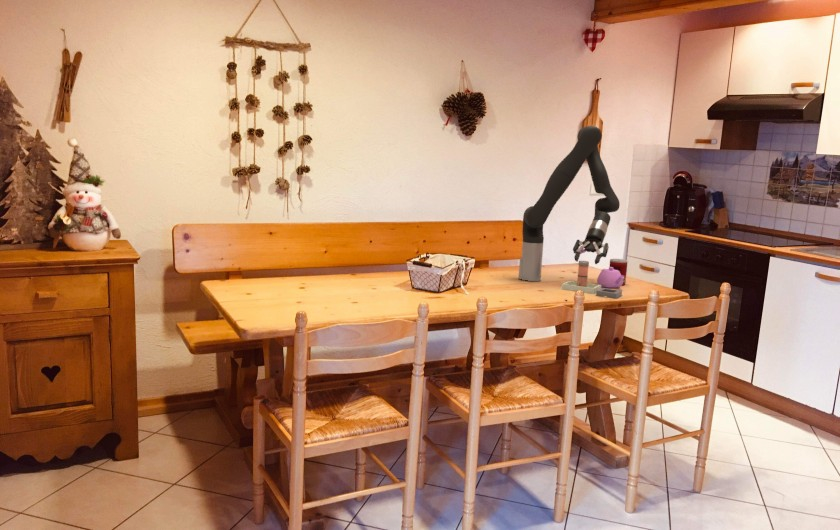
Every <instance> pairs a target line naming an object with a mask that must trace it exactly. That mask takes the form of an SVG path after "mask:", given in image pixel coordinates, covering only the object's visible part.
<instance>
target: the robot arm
mask: <svg viewBox="0 0 840 530" xmlns="http://www.w3.org/2000/svg"><path fill="white" fill-rule="evenodd" d="M602 136H603V135H602V131H601V130H600V128H599V127H598V126H595V125H587V126H583V127H581V129H579V130H578V133H577V141H576V143H575V145H574V147H573V148H572V149H571V151H570V152H569V153H568V154H567V155H566V156H565V157H564V158H563V159H562V160H561V161H560V162H559V163H558V164H557V166H556V167H555V168H554V170H553V171H552V173H551V175H550V176H549V178H548V180H547V182H546V184H545V187H544V189H543V191H542V194H541V195H540V197H539V198H538V199H537V201H536V202H535V204H534V205H533V206H529V207H527V208H526V209H525V211H524V213H523V215H522V230H521V231H522V245H521V246H522V248H521V257H520V258H519V265H518V267H519V268H518V280H521V279H522V281H525V280H528V281H527V282H540V281H541V279H542V266H543V265H542V264H543V254H544V253H543V252H544V225H545V224H546V222H547V220H548V218H549V216H550V214H551V213H552V210H554V209H553V208H554V207H555V206H556V204H557V202H558V201H559V200H560V199H561V197H562V196H563V195H564V193H565V192H566V191H567V190H568V188H569V186H570V185H572V182H573V181H574V179H575V178H576V176H578V175H577V174H578V173H579V171H580V170H581V168H582V166H583V164H584V163H585V161H586V162H587V163H586V164H587V165H588V166H587V167H588V169H589V173H590V177H591V181H592V185H593V188H594V191H595V193H596V194H601V195H604V197H600V198H598V199H597V200H596V201H595V203H594V216H593V219H592V222H591V224H590V226H589V227H588V229H587V233H586V235H585V238H584V240H580V239H577V240H576V242H575V243H574V245H573V248H572V251H573V254H575V255H574V258H573V259H574V261H575V262H578V263H579V259H580V256H581V255H582V254H583V253H586V252H587V253H596V257H595V259H594V264H595V265H598V264H599V263H600V261H601V258H607V255H608V253H609V243H608V242H605V243H604V240H605V238H606V235H607V231H608V228H609V225H610V223H611V215H610V214H609V213H614V212H617V211H619V209H620V199H619V198H618V196H617V194H616V193H615V191H614V189H613V188H612V185H611V182H610V178H609V174H608V171H607V169H606V166H605V164H604V163H603V159H602V157H601V155H600V151H599V147H598V146H599V144H600V142H601V140H602ZM601 249H603V251H602V252H601V251H600V250H601Z"/></svg>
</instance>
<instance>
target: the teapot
mask: <svg viewBox="0 0 840 530" xmlns="http://www.w3.org/2000/svg"><path fill="white" fill-rule="evenodd" d="M623 278H624V276H623V275H621V273H620V271H618V270H614V268H613V267H608V268H603V269H601V271H600V273H599V274H598V276H597V278H596V279H597V280H596V284H597V285H601V288H607V289H614V288H615V289H617V288H621V287H622V286H623V285H622V284H623Z"/></svg>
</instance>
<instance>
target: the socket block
mask: <svg viewBox="0 0 840 530" xmlns="http://www.w3.org/2000/svg"><path fill="white" fill-rule="evenodd" d="M594 296H595V297H601V298H603V299H604V298H605V299H613V300H614V299H615V300H617V299H619V298H621V297H623V290H620V289H614V288H607V287H601V289H599V290H597V291H596V293H595V294H594Z"/></svg>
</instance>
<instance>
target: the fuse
mask: <svg viewBox="0 0 840 530" xmlns="http://www.w3.org/2000/svg"><path fill="white" fill-rule="evenodd" d="M589 263H590V261H588V260H578V268H577V269H578V270H577V281H576V282H577V286H582V287H587V283H588V274H589V265H590V264H589Z"/></svg>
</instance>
